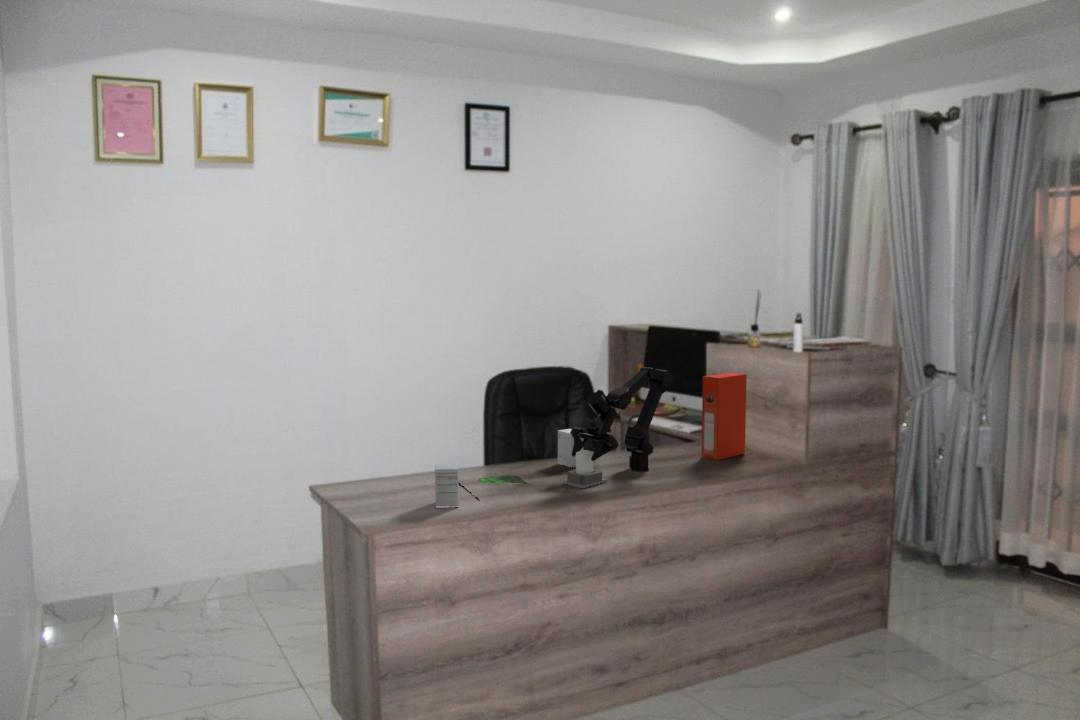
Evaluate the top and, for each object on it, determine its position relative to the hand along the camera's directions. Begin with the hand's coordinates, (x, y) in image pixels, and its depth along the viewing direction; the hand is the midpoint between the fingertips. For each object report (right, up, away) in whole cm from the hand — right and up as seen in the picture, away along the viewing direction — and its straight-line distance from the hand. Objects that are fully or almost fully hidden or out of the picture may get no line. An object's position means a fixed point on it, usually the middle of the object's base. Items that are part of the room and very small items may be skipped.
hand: (582, 458), depth 297 cm
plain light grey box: (+1, -8, +2) cm, 8 cm away
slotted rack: (+1, -9, +2) cm, 9 cm away
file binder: (+58, -4, +43) cm, 72 cm away
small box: (-3, -6, +28) cm, 29 cm away
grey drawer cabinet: (-44, -12, -24) cm, 52 cm away
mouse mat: (-28, -10, -5) cm, 30 cm away
